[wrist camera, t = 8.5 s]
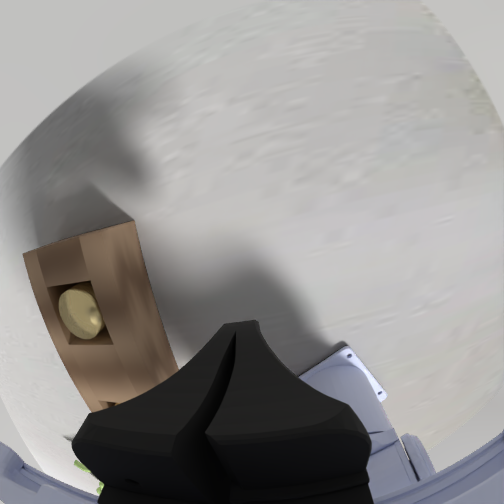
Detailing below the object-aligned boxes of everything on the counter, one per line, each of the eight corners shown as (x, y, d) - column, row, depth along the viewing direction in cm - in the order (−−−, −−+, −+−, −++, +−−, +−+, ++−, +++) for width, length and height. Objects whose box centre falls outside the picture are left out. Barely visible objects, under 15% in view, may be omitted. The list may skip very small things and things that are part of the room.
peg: (132, 311, 22) (106, 339, 17) (98, 313, 22) (70, 339, 17) (119, 267, 21) (87, 287, 16) (85, 273, 21) (52, 292, 16)
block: (202, 424, 25) (194, 458, 20) (132, 420, 25) (118, 449, 20) (134, 220, 20) (101, 230, 15) (57, 241, 20) (22, 253, 16)
